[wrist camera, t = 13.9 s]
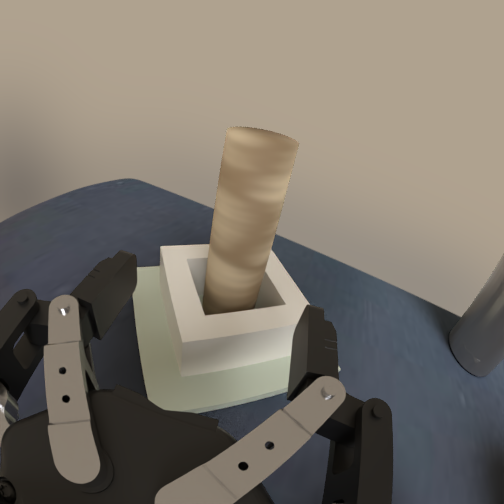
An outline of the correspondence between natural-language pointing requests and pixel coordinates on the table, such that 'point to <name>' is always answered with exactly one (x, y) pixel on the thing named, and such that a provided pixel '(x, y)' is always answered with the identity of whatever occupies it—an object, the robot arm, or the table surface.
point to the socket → (212, 335)
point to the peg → (246, 216)
